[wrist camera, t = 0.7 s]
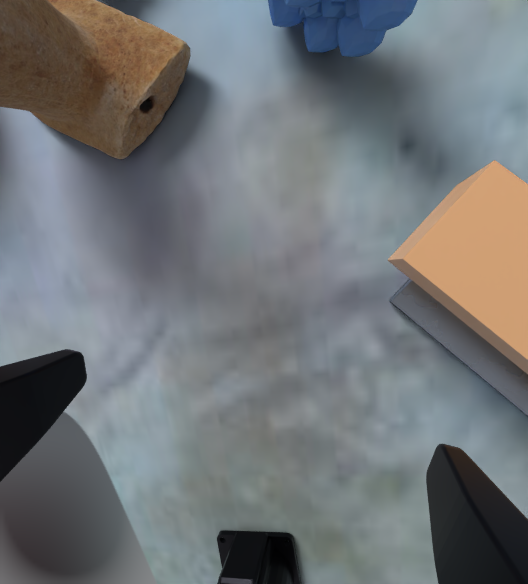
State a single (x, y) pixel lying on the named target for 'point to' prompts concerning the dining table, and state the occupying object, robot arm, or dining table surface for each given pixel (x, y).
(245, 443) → the dining table surface
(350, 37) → the grapes
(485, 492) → the robot arm
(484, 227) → the orange wooden beam
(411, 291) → the label plate
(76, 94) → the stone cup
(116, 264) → the dining table surface
